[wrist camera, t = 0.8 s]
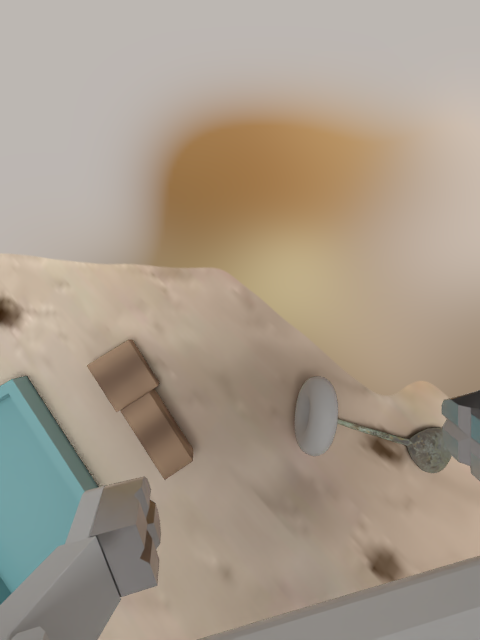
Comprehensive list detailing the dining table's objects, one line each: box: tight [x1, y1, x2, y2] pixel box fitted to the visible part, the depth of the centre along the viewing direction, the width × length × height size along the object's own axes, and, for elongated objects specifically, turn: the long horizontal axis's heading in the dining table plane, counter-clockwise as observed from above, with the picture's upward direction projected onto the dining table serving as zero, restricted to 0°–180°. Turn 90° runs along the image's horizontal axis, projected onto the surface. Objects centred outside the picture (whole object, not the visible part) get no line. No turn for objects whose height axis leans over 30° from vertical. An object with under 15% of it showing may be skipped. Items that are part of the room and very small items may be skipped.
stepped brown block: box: [87, 340, 193, 480], centre depth 48 cm, size 17×6×5 cm, turn 32°
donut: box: [295, 376, 338, 456], centre depth 48 cm, size 10×4×10 cm, turn 171°
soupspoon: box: [337, 419, 451, 473], centre depth 54 cm, size 22×3×7 cm
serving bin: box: [0, 376, 98, 605], centre depth 47 cm, size 24×16×4 cm
